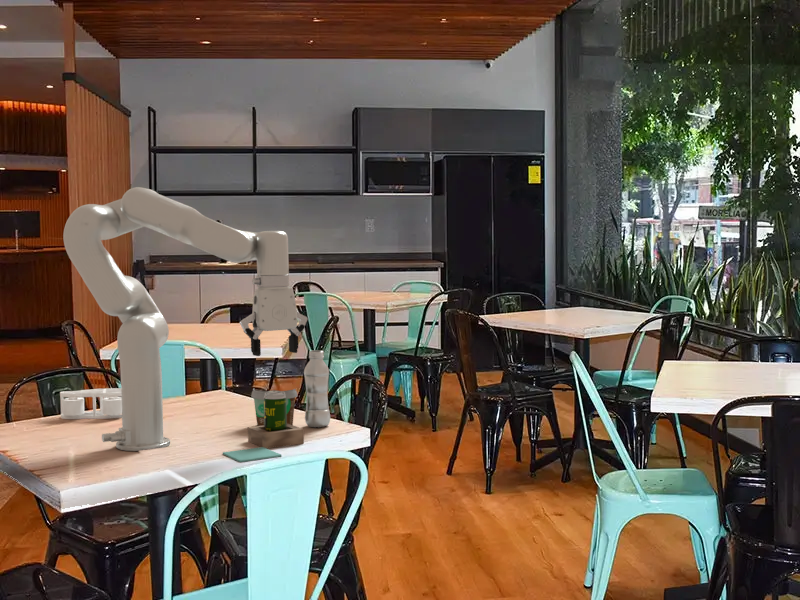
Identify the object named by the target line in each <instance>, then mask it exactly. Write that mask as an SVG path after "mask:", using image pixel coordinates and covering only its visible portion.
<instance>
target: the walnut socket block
mask: <svg viewBox="0 0 800 600" xmlns="http://www.w3.org/2000/svg"><path fill="white" fill-rule="evenodd" d="M304 432H305V429H304V428H302V427H299V426H296V425H294V424H293V425H290V424H288V423H287V430H280V431H272V432H268V431H265V430H264V425H262V426H257V425H256V426H249V427H247V441H248V442H249V443H251V444H253V445H255V446H258V447H264V448H266V449H274V448H281V447H289V446H296V445H297V446H298V445H303V444H304V443H305V435H304V434H305V433H304Z"/></svg>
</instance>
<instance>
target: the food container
mask: <svg viewBox="0 0 800 600" xmlns="http://www.w3.org/2000/svg"><path fill="white" fill-rule="evenodd" d="M267 392H285V396H286V413H287V423H288V424H290V425H293V426H294V414H295V402H296V398H297V397H298V391H297V389H296V388H293V389H289V390H277V389H276V390H275V389H273V390H266V391H264V390H263V391H262V390H256V389H255V387H254V388H253V389H252V391H251V395H250V396H251V398H253V403H254V409H255V418H256V426H262V425H264V396H265V393H267Z"/></svg>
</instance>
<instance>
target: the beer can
mask: <svg viewBox="0 0 800 600" xmlns="http://www.w3.org/2000/svg"><path fill="white" fill-rule="evenodd" d="M264 430H265V431H268V432H272V431H280V430H287V413H286V396H285V392H267V393H265V396H264Z"/></svg>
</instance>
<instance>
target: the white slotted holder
mask: <svg viewBox="0 0 800 600" xmlns="http://www.w3.org/2000/svg"><path fill="white" fill-rule="evenodd" d="M59 396H60V399H59V400H60V415H59V416H60V418H61V419H63V420H83V419H89V420H90V419H92V420H93V419H96V420H97V419H102V420H103V419H108V420H110V419H122V395H121V387H120V388H119V387H118V388H117V387H115V388H113V387H112V388H111V387H110V388H93V389H81V390H66V391H60V392H59ZM85 398H92V410H91V411H85ZM97 398H99V408H100V410H97V402H96V401H97Z"/></svg>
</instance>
